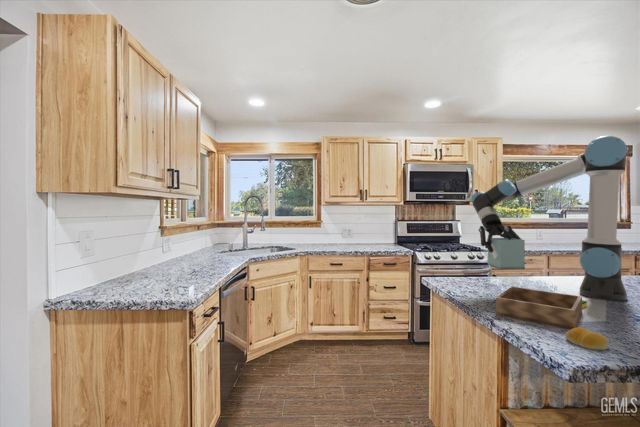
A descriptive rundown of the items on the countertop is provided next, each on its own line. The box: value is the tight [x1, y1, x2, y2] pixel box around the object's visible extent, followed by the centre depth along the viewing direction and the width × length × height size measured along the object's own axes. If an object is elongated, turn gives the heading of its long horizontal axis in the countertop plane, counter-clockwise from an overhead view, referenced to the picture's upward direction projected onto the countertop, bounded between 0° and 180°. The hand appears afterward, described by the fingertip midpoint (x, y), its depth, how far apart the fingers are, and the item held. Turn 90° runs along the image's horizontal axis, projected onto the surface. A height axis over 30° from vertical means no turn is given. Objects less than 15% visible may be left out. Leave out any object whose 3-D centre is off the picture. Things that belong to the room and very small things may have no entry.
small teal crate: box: [487, 237, 526, 270], centre depth 138 cm, size 10×10×12 cm
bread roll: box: [565, 326, 610, 351], centre depth 89 cm, size 8×9×4 cm
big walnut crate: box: [495, 286, 583, 330], centre depth 114 cm, size 22×22×6 cm
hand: (509, 257), depth 134 cm, fingers closed on small teal crate, 10 cm apart
